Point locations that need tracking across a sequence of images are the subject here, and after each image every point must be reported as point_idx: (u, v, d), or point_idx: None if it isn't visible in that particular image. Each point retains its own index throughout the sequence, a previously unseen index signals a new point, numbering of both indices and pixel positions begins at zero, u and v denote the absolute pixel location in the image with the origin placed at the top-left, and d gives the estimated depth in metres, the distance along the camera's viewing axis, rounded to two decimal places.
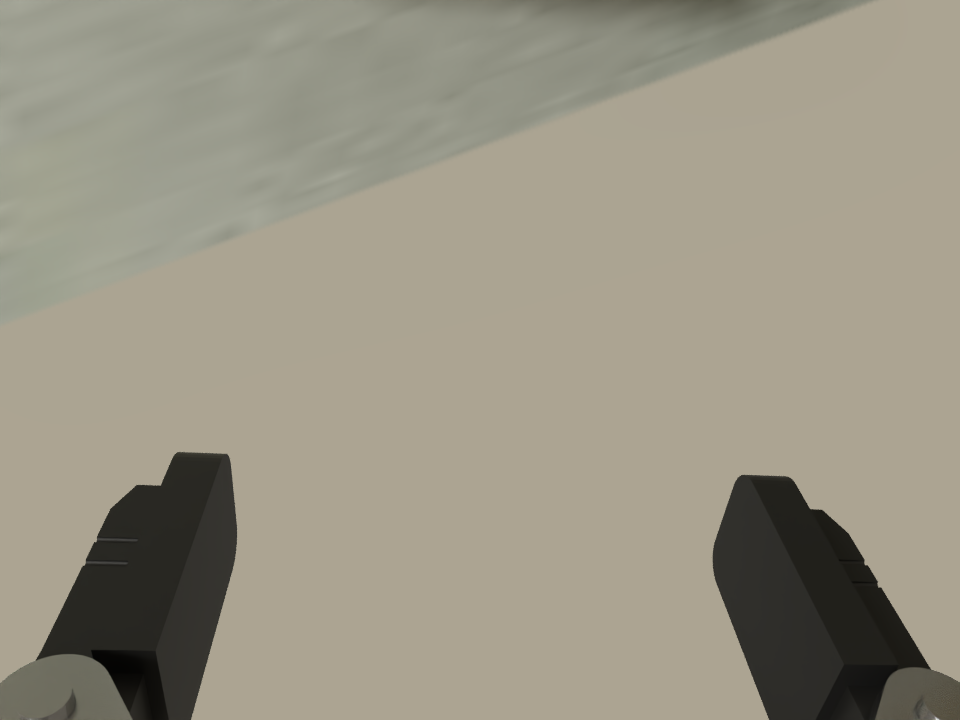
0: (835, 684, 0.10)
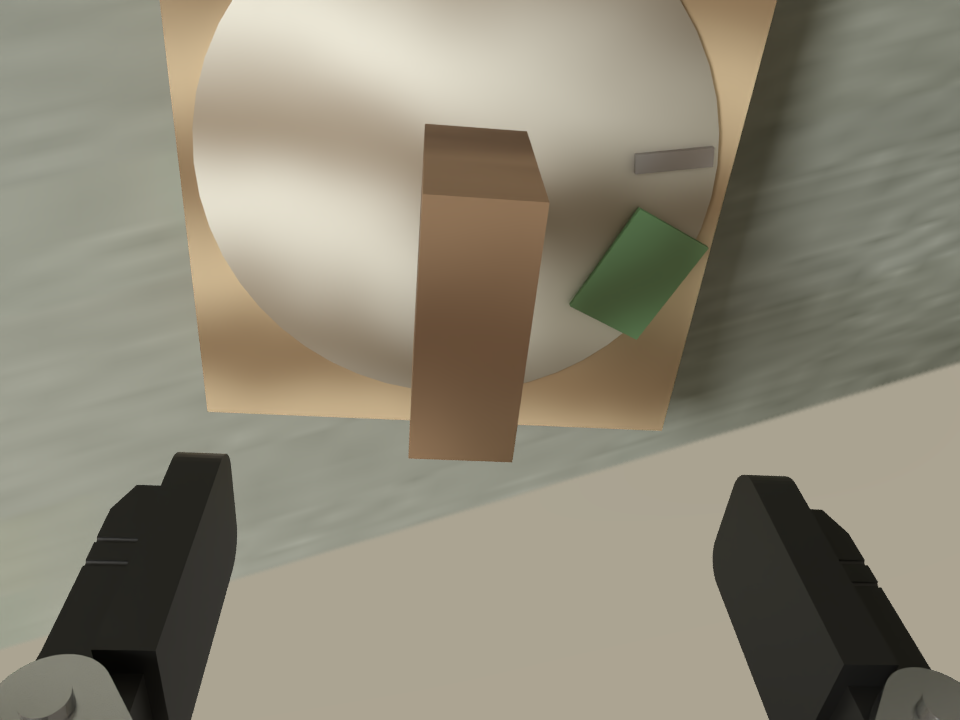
0: (835, 684, 0.10)
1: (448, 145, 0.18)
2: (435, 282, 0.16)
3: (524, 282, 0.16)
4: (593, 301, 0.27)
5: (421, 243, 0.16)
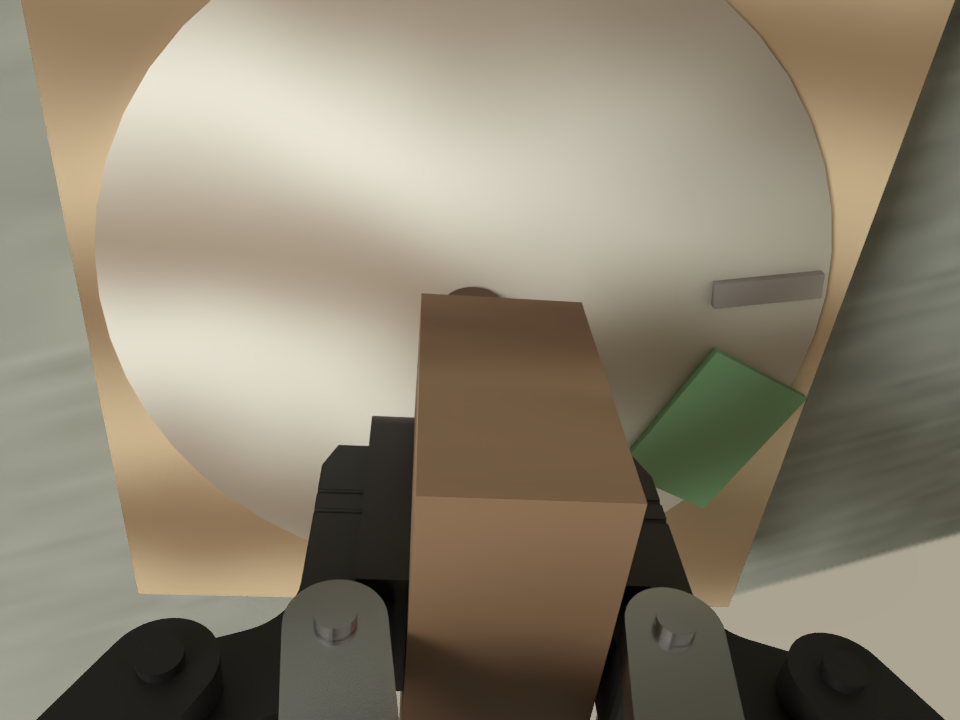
0: None
1: (460, 346, 0.11)
2: (438, 617, 0.09)
3: (594, 615, 0.09)
4: (648, 464, 0.20)
5: (414, 565, 0.09)
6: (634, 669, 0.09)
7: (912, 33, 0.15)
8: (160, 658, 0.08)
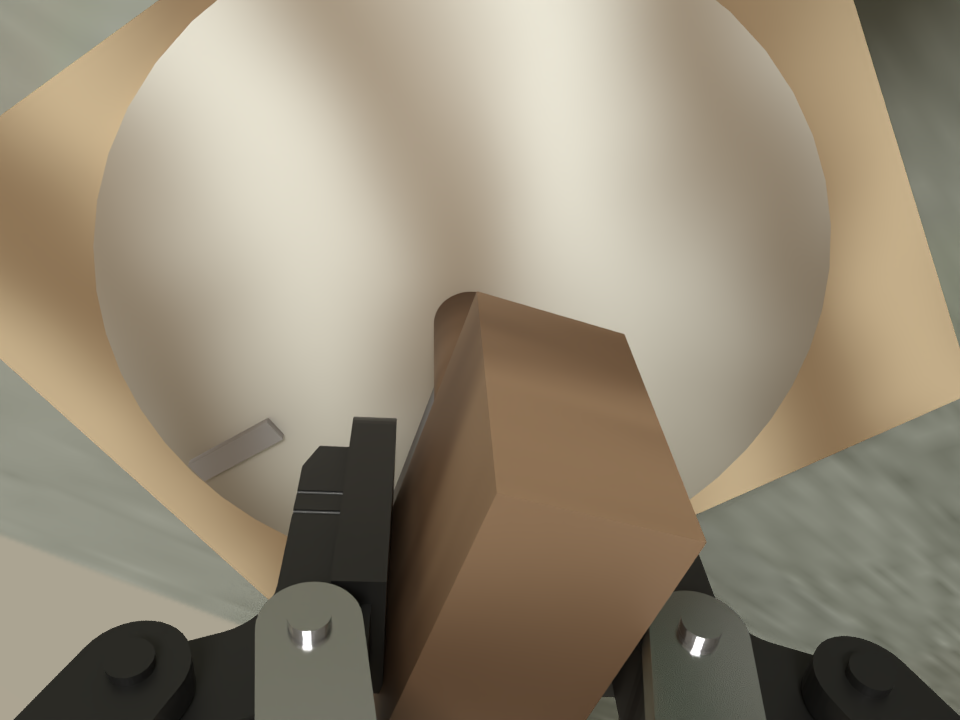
0: None
1: (520, 353, 0.11)
2: (470, 616, 0.09)
3: (616, 639, 0.09)
4: None
5: (466, 561, 0.09)
6: (660, 673, 0.09)
7: (852, 427, 0.20)
8: (131, 662, 0.08)
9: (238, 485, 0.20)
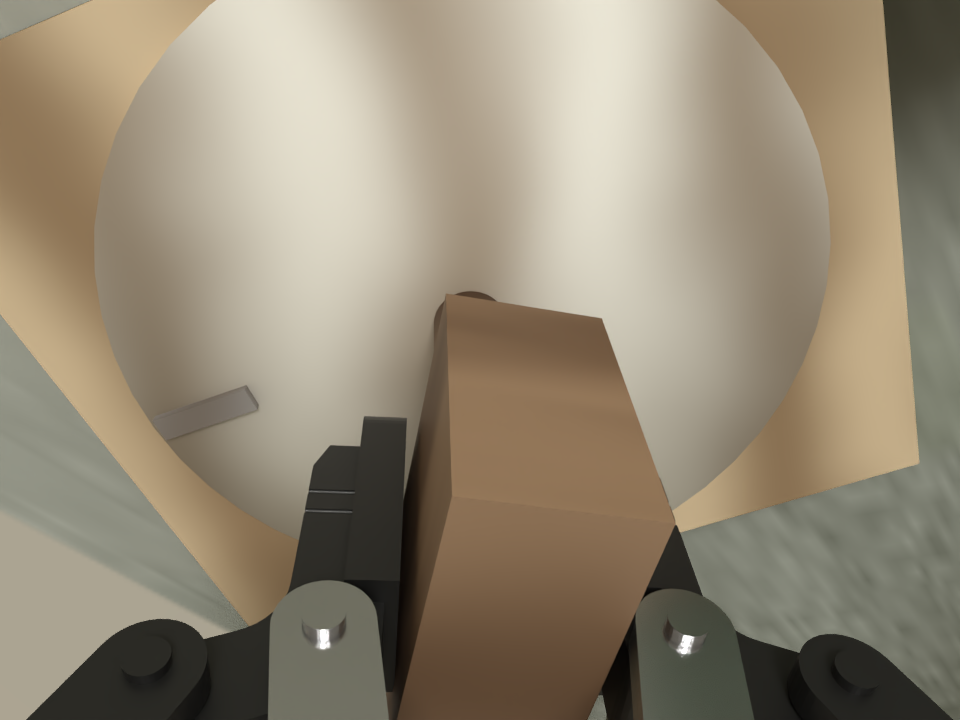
0: None
1: (486, 350, 0.11)
2: (452, 619, 0.09)
3: (605, 628, 0.09)
4: None
5: (437, 565, 0.09)
6: (646, 671, 0.09)
7: (805, 479, 0.21)
8: (147, 660, 0.08)
9: (200, 449, 0.20)
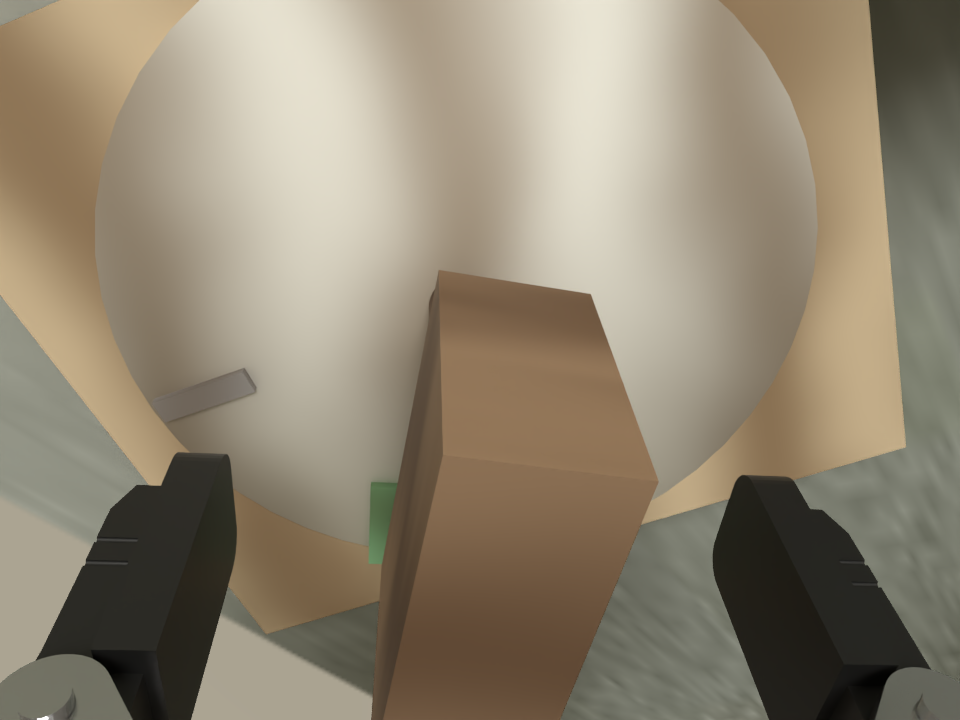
0: (835, 684, 0.10)
1: (478, 322, 0.11)
2: (445, 577, 0.09)
3: (593, 586, 0.10)
4: (390, 504, 0.21)
5: (429, 524, 0.09)
6: None
7: (794, 463, 0.22)
8: None
9: (198, 432, 0.20)
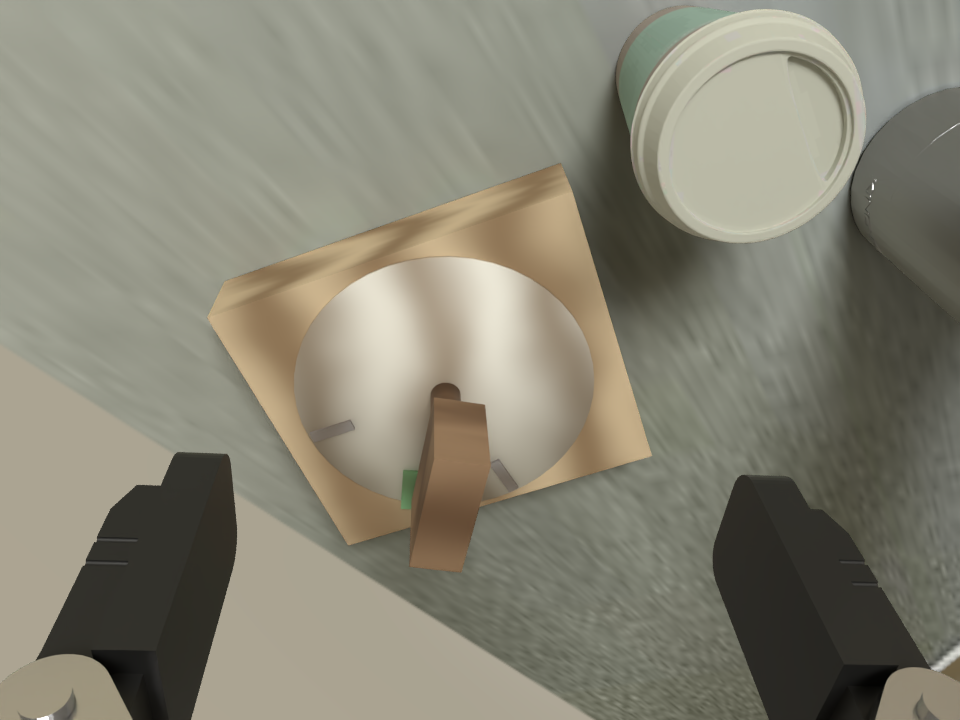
0: (835, 684, 0.10)
1: (446, 417, 0.36)
2: (434, 492, 0.34)
3: (476, 495, 0.34)
4: (412, 480, 0.46)
5: (430, 476, 0.34)
6: None
7: (600, 463, 0.46)
8: None
9: (327, 446, 0.45)
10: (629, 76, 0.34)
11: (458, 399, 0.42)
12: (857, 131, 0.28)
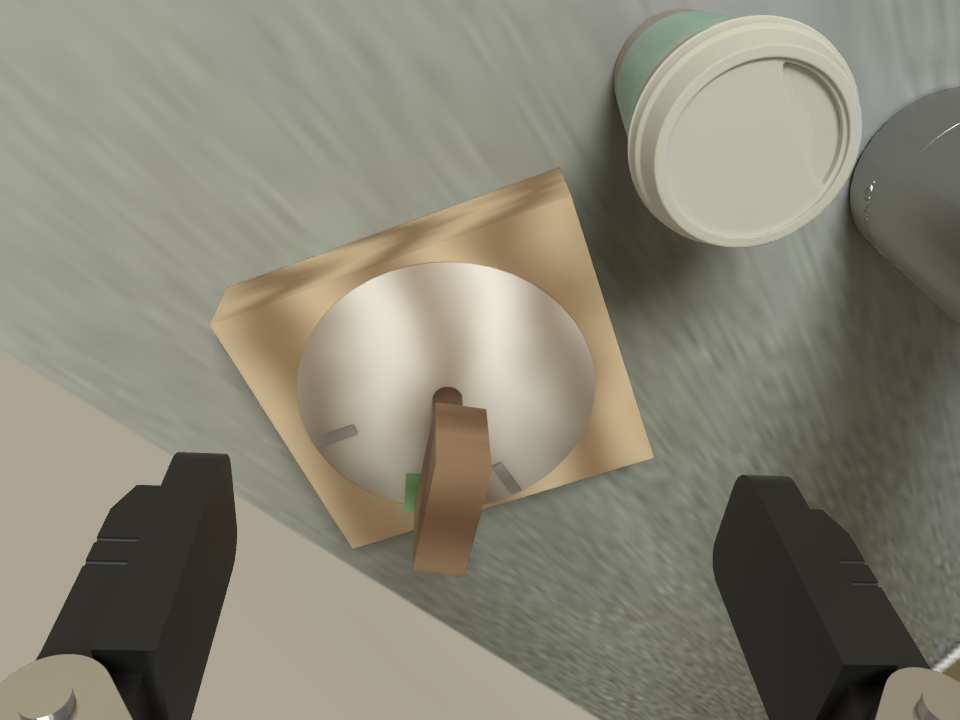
0: (835, 684, 0.10)
1: (447, 422, 0.36)
2: (436, 497, 0.34)
3: (478, 500, 0.35)
4: (415, 484, 0.46)
5: (432, 482, 0.34)
6: None
7: (602, 465, 0.47)
8: None
9: (330, 451, 0.45)
10: (626, 81, 0.34)
11: (460, 403, 0.42)
12: (853, 135, 0.29)
